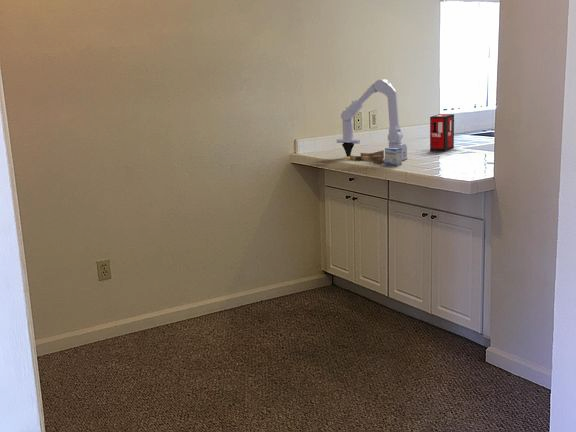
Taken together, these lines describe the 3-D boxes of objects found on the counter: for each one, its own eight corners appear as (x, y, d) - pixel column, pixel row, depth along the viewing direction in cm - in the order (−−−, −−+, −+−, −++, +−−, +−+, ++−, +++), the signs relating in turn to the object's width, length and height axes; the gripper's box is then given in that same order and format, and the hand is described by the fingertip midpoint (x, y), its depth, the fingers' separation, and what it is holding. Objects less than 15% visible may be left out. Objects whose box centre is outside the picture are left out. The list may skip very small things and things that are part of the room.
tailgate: (362, 155, 360) (352, 155, 364) (352, 158, 353) (342, 157, 357) (362, 158, 360) (352, 157, 364) (352, 160, 353) (342, 159, 357)
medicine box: (384, 164, 335) (384, 148, 333) (389, 163, 338) (389, 147, 336) (397, 165, 329) (396, 149, 327) (402, 164, 332) (402, 148, 330)
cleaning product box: (439, 147, 388) (439, 114, 384) (453, 147, 384) (454, 114, 379) (430, 151, 375) (430, 116, 370) (444, 151, 370) (445, 116, 366)
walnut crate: (382, 163, 341) (382, 155, 340) (380, 164, 338) (380, 156, 337) (375, 162, 343) (375, 155, 342) (373, 164, 339) (373, 156, 338)
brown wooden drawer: (384, 159, 353) (384, 150, 352) (371, 162, 343) (371, 153, 342) (362, 157, 362) (362, 149, 361) (348, 161, 352) (348, 152, 351)
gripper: (362, 131, 355) (363, 155, 358) (341, 130, 364) (341, 154, 367) (355, 132, 350) (356, 157, 353) (334, 132, 359) (334, 156, 362)
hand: (348, 156), depth 360 cm, fingers closed
